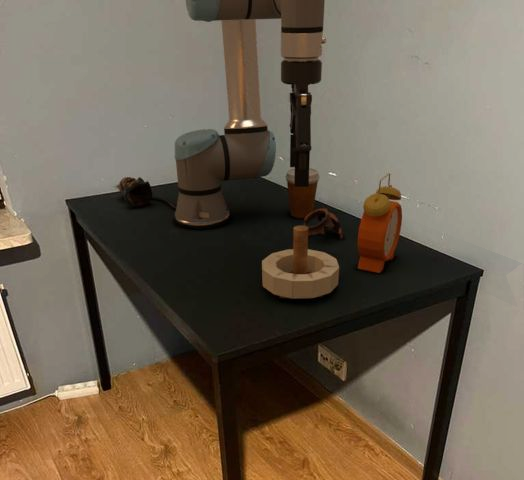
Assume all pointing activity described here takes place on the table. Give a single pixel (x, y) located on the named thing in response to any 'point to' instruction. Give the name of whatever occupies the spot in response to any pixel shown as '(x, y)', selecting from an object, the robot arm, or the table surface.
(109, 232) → the table surface
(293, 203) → the disposable coffee cup
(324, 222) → the pottery mug
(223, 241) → the table surface
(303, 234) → the stand
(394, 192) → the alarm clock
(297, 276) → the ring
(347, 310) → the table surface
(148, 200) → the figurine
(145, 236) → the table surface
